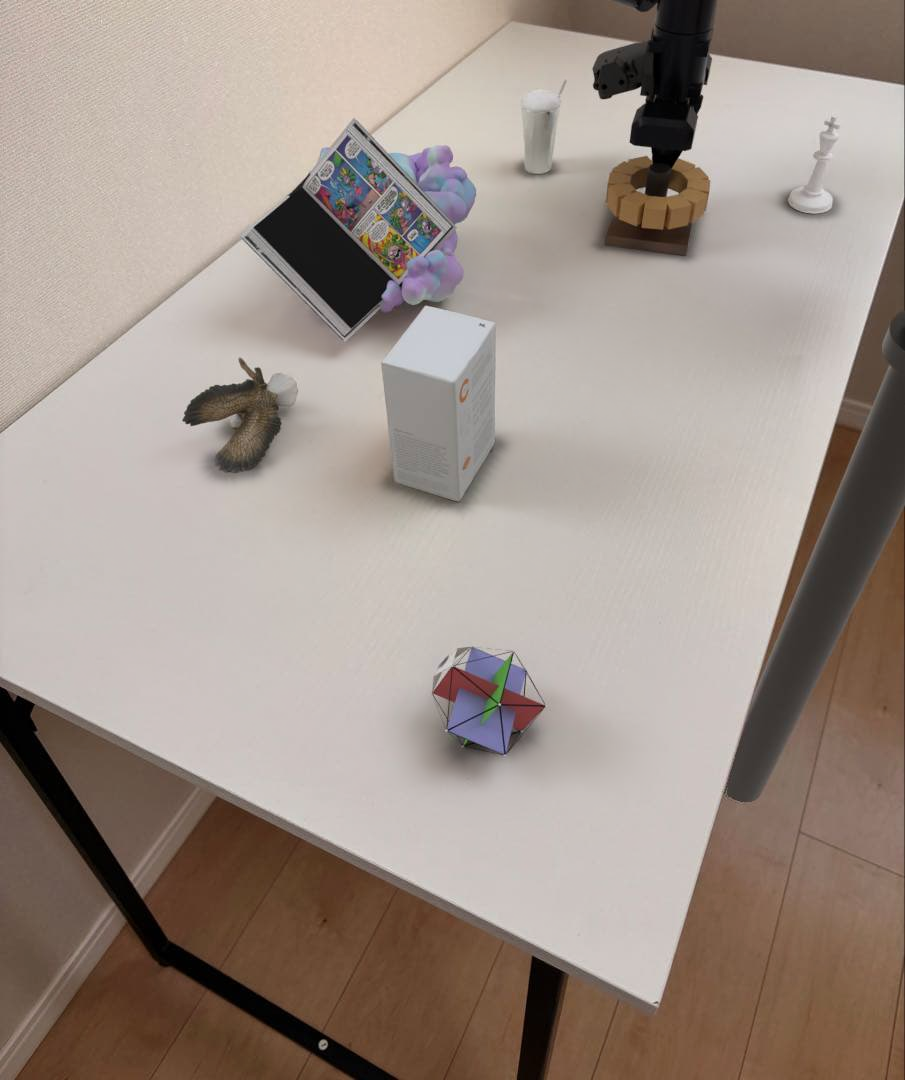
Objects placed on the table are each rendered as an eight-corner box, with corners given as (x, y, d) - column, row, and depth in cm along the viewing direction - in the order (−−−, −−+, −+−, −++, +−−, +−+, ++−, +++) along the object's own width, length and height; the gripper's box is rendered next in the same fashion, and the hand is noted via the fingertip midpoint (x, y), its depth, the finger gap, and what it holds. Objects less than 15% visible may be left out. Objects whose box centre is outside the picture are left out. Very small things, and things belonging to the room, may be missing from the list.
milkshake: (568, 171, 115) (574, 87, 107) (528, 180, 114) (532, 96, 106) (552, 154, 118) (557, 72, 110) (513, 163, 116) (515, 80, 109)
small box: (431, 424, 85) (425, 302, 75) (496, 443, 83) (498, 320, 73) (391, 483, 80) (378, 361, 70) (459, 504, 78) (456, 382, 69)
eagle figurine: (222, 384, 87) (166, 432, 81) (253, 334, 83) (197, 380, 76) (286, 438, 88) (237, 489, 82) (321, 391, 84) (271, 441, 77)
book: (472, 177, 105) (379, 41, 92) (533, 275, 90) (432, 129, 78) (331, 287, 110) (225, 172, 97) (367, 396, 95) (247, 277, 83)
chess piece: (804, 187, 111) (828, 102, 103) (840, 203, 108) (867, 117, 101) (779, 202, 109) (801, 116, 101) (814, 218, 106) (840, 131, 99)
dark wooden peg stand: (695, 213, 108) (706, 153, 102) (686, 255, 102) (697, 193, 97) (617, 204, 109) (624, 144, 104) (604, 245, 104) (610, 183, 98)
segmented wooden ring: (708, 179, 106) (711, 159, 104) (703, 233, 99) (708, 213, 97) (611, 172, 107) (613, 152, 106) (601, 224, 101) (603, 204, 99)
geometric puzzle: (574, 681, 64) (507, 611, 60) (556, 770, 60) (483, 701, 56) (492, 697, 68) (424, 633, 65) (469, 781, 64) (395, 718, 60)
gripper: (618, -16, 101) (604, 128, 112) (586, 54, 89) (574, 206, 101) (724, -8, 99) (698, 138, 110) (705, 65, 87) (678, 219, 99)
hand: (661, 173), depth 105 cm, fingers closed on segmented wooden ring, 2 cm apart
